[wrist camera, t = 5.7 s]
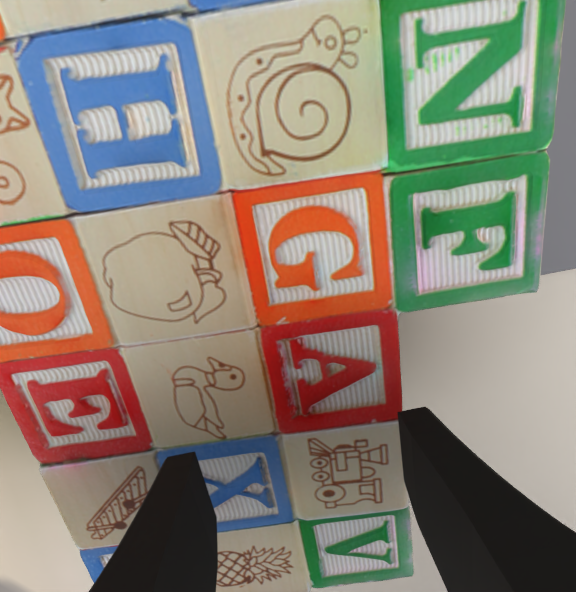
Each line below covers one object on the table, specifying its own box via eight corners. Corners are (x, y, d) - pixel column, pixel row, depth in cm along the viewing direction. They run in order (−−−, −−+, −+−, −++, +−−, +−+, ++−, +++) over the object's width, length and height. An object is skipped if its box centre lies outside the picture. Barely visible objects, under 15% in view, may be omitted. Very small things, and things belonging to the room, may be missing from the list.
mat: (659, 248, 19) (665, 251, 19) (-101, 394, 19) (-106, 399, 19) (745, -280, 13) (755, -287, 12) (-390, -69, 13) (-404, -71, 12)
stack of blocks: (148, 466, 21) (454, 427, 21) (104, 622, 16) (522, 574, 15) (-107, -250, 11) (456, -357, 11) (-467, -519, 6) (647, -759, 5)
